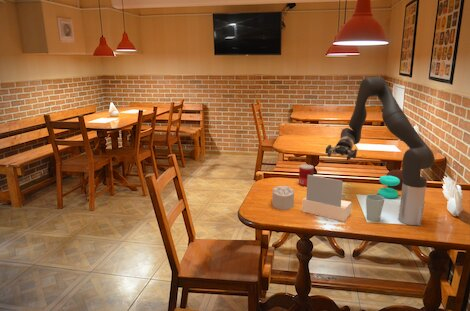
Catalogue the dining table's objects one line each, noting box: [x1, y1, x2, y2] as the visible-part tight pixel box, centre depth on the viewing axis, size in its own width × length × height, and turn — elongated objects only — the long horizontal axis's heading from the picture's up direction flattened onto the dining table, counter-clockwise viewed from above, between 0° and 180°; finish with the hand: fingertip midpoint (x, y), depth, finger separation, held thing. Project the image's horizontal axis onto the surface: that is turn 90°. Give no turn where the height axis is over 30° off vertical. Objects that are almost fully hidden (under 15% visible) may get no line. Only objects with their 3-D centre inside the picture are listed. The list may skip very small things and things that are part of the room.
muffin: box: [385, 169, 403, 191], centre depth 205 cm, size 12×11×10 cm
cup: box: [365, 193, 386, 223], centre depth 164 cm, size 8×8×10 cm
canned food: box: [298, 164, 315, 188], centre depth 210 cm, size 8×8×11 cm
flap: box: [305, 174, 344, 207], centre depth 165 cm, size 16×1×12 cm, turn 56°
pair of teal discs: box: [377, 175, 400, 199], centre depth 193 cm, size 10×10×10 cm
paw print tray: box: [271, 185, 295, 211], centre depth 180 cm, size 10×13×9 cm
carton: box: [301, 196, 352, 222], centre depth 171 cm, size 20×10×6 cm, turn 56°
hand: (338, 156), depth 172 cm, fingers open, 8 cm apart
